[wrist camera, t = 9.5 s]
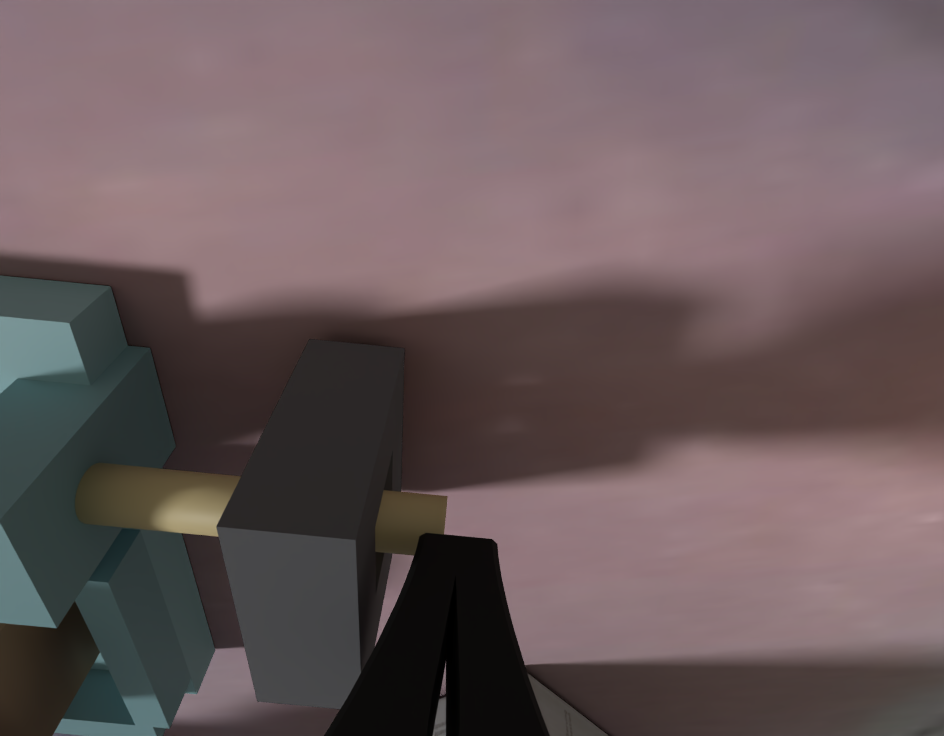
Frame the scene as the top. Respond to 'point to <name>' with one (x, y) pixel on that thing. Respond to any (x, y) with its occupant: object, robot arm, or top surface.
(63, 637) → the brown wooden block
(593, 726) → the coffee box
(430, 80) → the top surface
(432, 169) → the top surface
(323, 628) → the block
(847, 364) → the top surface
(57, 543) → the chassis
